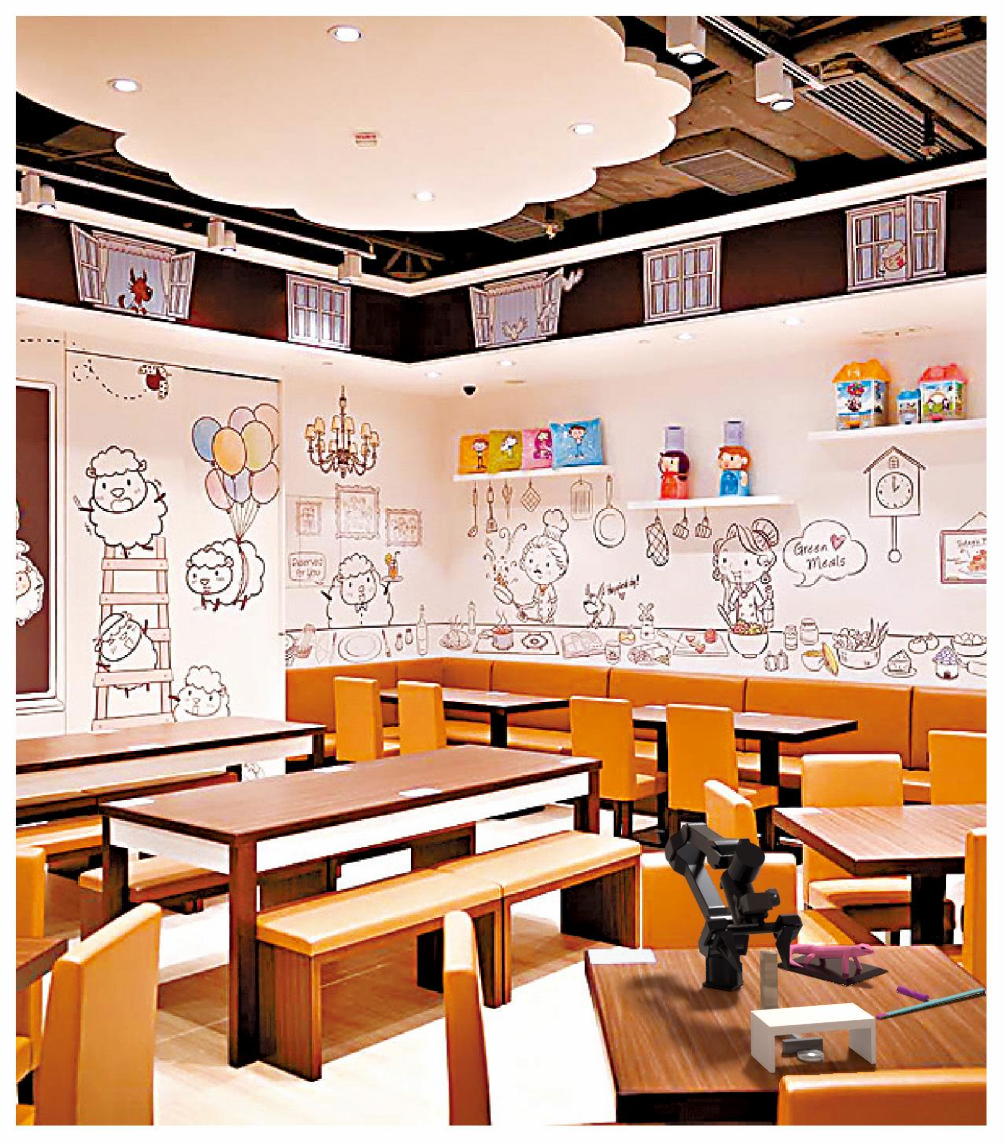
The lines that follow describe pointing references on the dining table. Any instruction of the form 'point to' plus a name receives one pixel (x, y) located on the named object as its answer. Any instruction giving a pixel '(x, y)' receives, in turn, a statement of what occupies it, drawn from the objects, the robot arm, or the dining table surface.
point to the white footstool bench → (811, 1028)
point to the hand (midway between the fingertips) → (764, 970)
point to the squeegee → (926, 997)
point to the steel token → (810, 1055)
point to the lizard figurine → (833, 963)
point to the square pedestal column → (771, 1002)
